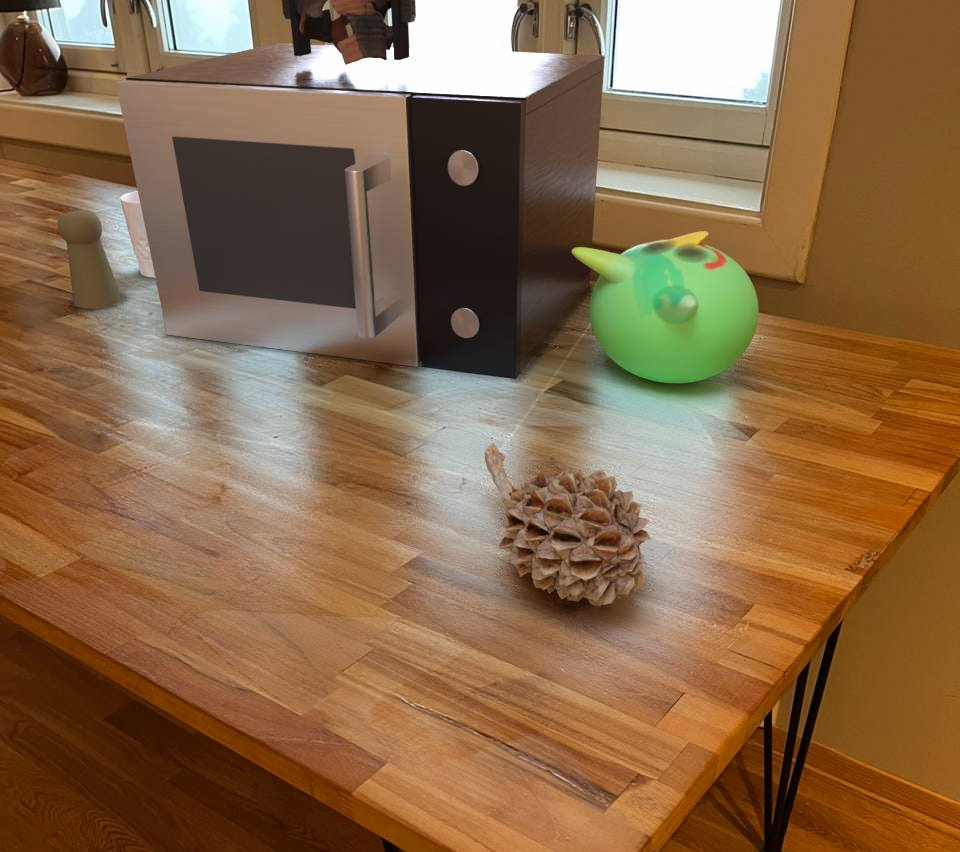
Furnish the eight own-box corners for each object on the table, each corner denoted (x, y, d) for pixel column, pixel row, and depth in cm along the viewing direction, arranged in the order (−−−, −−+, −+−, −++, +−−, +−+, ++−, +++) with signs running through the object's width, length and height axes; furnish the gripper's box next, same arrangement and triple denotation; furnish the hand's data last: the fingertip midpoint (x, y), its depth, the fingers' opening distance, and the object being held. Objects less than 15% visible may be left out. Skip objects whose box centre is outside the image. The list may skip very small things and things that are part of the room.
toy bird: (774, 377, 106) (801, 237, 97) (682, 424, 96) (703, 273, 87) (644, 336, 116) (657, 205, 107) (549, 374, 106) (555, 235, 97)
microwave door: (393, 391, 103) (375, 108, 86) (132, 355, 111) (72, 91, 95) (422, 362, 109) (411, 94, 93) (174, 330, 117) (124, 79, 101)
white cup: (204, 270, 137) (191, 195, 131) (155, 283, 133) (139, 206, 126) (173, 259, 141) (159, 186, 135) (125, 271, 137) (108, 196, 131)
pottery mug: (320, 72, 100) (288, -12, 99) (320, 104, 110) (291, 28, 108) (426, 34, 101) (397, -50, 99) (418, 68, 111) (390, -8, 109)
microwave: (513, 382, 105) (518, 101, 88) (164, 337, 116) (111, 80, 100) (589, 285, 131) (604, 55, 115) (299, 256, 143) (275, 43, 126)
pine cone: (681, 619, 70) (699, 498, 64) (571, 660, 66) (580, 536, 60) (520, 492, 85) (523, 385, 79) (424, 520, 81) (419, 410, 75)
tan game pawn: (130, 295, 129) (110, 207, 122) (108, 309, 124) (86, 219, 117) (88, 292, 130) (66, 205, 123) (65, 307, 125) (41, 217, 118)
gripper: (461, -209, 92) (464, 56, 105) (243, -202, 98) (272, 48, 111) (433, -217, 87) (440, 65, 100) (204, -208, 93) (239, 56, 106)
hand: (351, 56), depth 106 cm, fingers closed on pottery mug, 11 cm apart
